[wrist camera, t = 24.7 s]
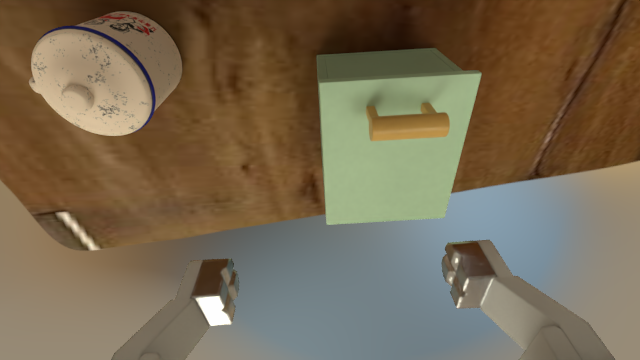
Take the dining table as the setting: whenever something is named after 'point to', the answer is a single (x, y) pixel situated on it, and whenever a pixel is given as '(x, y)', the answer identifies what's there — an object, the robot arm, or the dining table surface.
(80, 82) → the teacup with lid
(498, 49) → the dining table surface
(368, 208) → the lid
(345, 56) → the box
